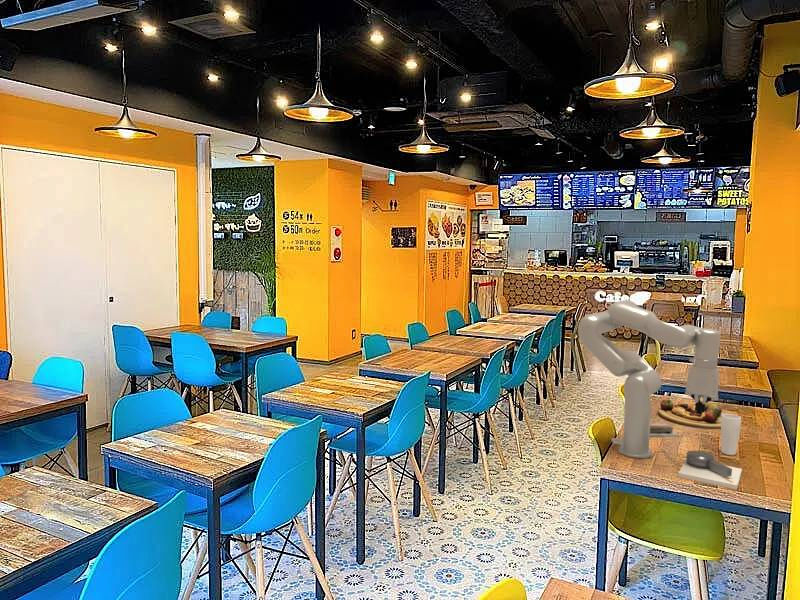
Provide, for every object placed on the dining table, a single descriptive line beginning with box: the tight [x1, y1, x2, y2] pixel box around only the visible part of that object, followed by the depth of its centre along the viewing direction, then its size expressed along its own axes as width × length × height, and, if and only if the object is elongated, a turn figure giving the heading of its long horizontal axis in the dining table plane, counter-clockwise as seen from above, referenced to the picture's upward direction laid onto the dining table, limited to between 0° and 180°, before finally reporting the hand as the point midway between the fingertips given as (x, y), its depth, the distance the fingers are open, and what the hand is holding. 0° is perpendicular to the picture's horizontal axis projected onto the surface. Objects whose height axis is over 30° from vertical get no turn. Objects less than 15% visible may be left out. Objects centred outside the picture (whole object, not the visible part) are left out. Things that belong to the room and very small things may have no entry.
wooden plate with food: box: [657, 397, 725, 430], centre depth 282 cm, size 32×32×8 cm
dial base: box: [677, 459, 743, 490], centre depth 213 cm, size 18×18×2 cm
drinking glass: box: [720, 413, 742, 456], centre depth 235 cm, size 7×7×15 cm
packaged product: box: [649, 422, 679, 438], centre depth 258 cm, size 18×5×10 cm
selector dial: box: [685, 450, 732, 477], centre depth 214 cm, size 18×9×3 cm, turn 17°
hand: (699, 413), depth 216 cm, fingers closed
